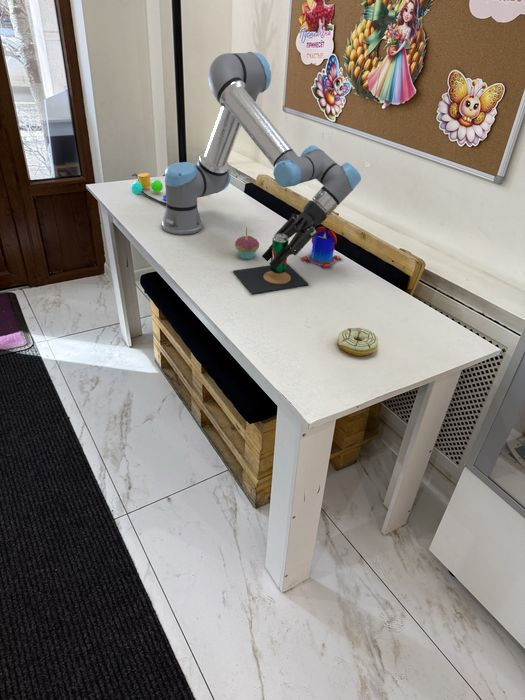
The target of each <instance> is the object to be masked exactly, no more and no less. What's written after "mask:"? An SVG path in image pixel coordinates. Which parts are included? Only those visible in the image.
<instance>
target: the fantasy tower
mask: <svg viewBox="0 0 525 700" xmlns="http://www.w3.org/2000/svg"><path fill="white" fill-rule="evenodd" d="M315 231H316V232H317V235H315V236H314V237H313V238H311V243H312V246H311V254H310V255H309V256H307V255H306V256H303V257H301V261H302V262H306V263H311V264H315V265H318V266H320V267H321V268H323V269H331V268H332V266H331V265H333V264H334V263H336V262H339V261H342V259H341V257H340V256H339V255H334V253H335V249H336V247H335V245H337V241H338V238H337V235H336V233H335V232H334V231H333V230H332V229H327V227H325V226H320V227H317V228H316V229H315Z"/></svg>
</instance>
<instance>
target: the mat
mask: <svg viewBox="0 0 525 700" xmlns="http://www.w3.org/2000/svg"><path fill="white" fill-rule="evenodd" d="M270 267H271V265H270V264H268V265H263V266H256V267H250V268H242V269H234V270H232V272H233V274H234V275H235V277H236V278H237V279H238V280H239V281H240V282H241V284H242V285H243V286H244V287H245V289H246V290H247V291H248V292H249V293H250V294H251V295H253V296H254V295H258V294H260V295H261V294H265V293H271V292H277V291H283V290H290V289H295V288H302V287H309V283H308V282H307V281H306V280H305V279H304V278H303V277H302V276H301V275H300V274H299V273H298V272H297V271H296V270H295V269H294V268H292V266H290V265H289V264H288V263H286V271H285V272H284V273H281V274H277V273H274V272H272V271H271V269H270Z"/></svg>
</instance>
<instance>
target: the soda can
mask: <svg viewBox="0 0 525 700" xmlns="http://www.w3.org/2000/svg"><path fill="white" fill-rule="evenodd" d="M289 239H290V238H289ZM289 239H288V236H287V235H285V234H276V233H274V235H273V237H272V239H271V240H272V243H271V245H272V253H271V258H270V262H271V261H272V260H273V259H274V258H275V257H276V256H277V255H278V254H279V253H280V251H281V250H282V249H283V248H284V247H287V246H288V244H289V243H290V240H289ZM287 262H288V257H287V258H286V259H285V260H284V261H283V262H282V263H281V264H280V265H279V266H278V267H277V268H276V269H274V268H273V267H272V266H271V267H270V269H271V271H272V272H274V273H277V274H281V273H284V272H285V271H286V263H287ZM287 264H288V263H287Z"/></svg>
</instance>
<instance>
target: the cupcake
mask: <svg viewBox="0 0 525 700" xmlns="http://www.w3.org/2000/svg"><path fill="white" fill-rule="evenodd" d="M234 247H235V248H236V250H237V251H238V253H239V257H240V258H241V259H242V260H243V259H244V260H251V259H253V258H254V256H255V254H256V252H257V251H258V250H259V248H260V242H259V240H258V239H257V238H254V237H253V236H251V235H248V226H246V225H245V235H242V236H240V237H238V238H237V239H236V240H235V241H234Z"/></svg>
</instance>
